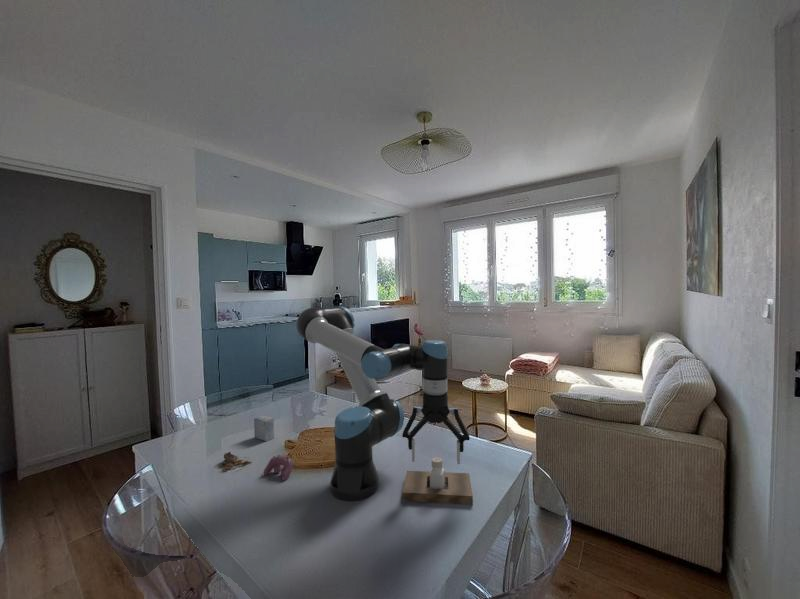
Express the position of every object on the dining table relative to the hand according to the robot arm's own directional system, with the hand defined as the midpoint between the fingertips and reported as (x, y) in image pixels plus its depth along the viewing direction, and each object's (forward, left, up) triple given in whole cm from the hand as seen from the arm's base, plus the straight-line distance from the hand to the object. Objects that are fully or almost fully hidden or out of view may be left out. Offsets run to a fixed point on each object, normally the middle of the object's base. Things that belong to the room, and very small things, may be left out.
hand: (435, 460), depth 100 cm
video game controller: (-53, +4, -9) cm, 54 cm away
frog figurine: (-74, +9, -10) cm, 75 cm away
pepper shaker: (0, 0, -9) cm, 9 cm away
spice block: (0, 0, -9) cm, 9 cm away
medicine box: (-75, +32, -9) cm, 82 cm away
